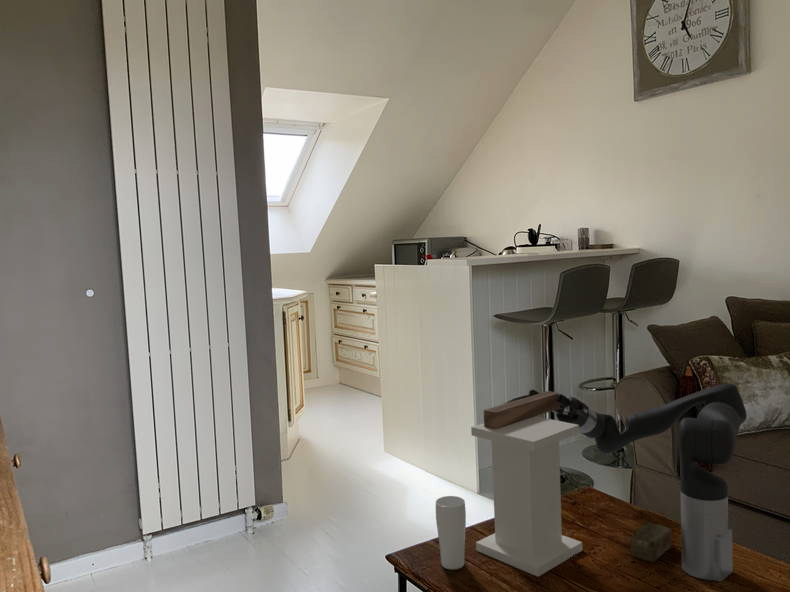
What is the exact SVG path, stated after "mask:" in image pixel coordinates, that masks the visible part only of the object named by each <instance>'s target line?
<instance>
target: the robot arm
mask: <svg viewBox="0 0 790 592" xmlns="http://www.w3.org/2000/svg"><path fill="white" fill-rule="evenodd" d="M540 393H541V392H538V391H537V390H535V389H533V388H531V389H530V390H529V392H528V395H527V397H529V396H533V395H536V394H540ZM556 402H557V403H559V404H560V408H559V409H556V410H553V411H551V413H554V414H555V416H556V418H557V421H562V422H567V423H571V424H576V425H579V434H580V433H581V434H582V435H584V436H585V437H587V438H591V439H594V441H595V444H596V448H597V449H598V451H600V452H602V453H604V454H612V453H615V452H617V451H620V450H621V449H623V448H625V447H626V446H628V445H630V444H632V443H634V442H636V441H638V440H640V439H644V438H647V437H653V436H656V435H660V434H663V433H665V432H666V431H668V430H669V429H671V428H672V427H673V425H675V424H676V423H677V421H678V420H679V419H680V418H681V417H682V416H684V414H685V413H686V412H687V411H689V410H690V409H692V408H693V407H695V406H697V405H700V404H703V405H704V406H703V407H702V408H701V409H700V411H699V412H698V414H697V417H683V418H682V419H681V420H680V422H679V424H678V425H679V426H678V429H677V430H678V432H677V440H678V443H677V444H678V456H679V474H680V476H679V477H680V479H679V480H680V481H679V483H680V534H681V535H680V539H681V540H680V542H681V543H680V544H681V547H680V549H681V568H682V570H683V571H684V572H685V573H687V574H688V575H689V576H692V577H694V578H698V579H701V580H706V581H717V582H719V583H722V582H723V581H724V580H725V579H726V578H728V576H730V575H731V574H732V573H733V570H734V569H733V568H734V567H733V563H734V562H733V529H732V528H729V488H728V487H729V486H728V483H727V481H726V480H725V479H724V478H722V477H721V476H719V475H716V474H715V473H713V472H710V471H708V470H706V468H703V466H701V465H700V464H701V463H704V464H714V465H726V464H728V463H730V462H731V461H732V460H733V459H732V458H733V457H734V455H735V452H736V451H735V450H736V449H735V448H736V437H737V436H738V433H739V431H740V428H741V425H742V424H744V422H745V421H746V420H747V411H746V407H745V405H744V402H743V398H742V397H741V395H740V392H739V389H738V387H737V385H735V384H732V383H725V384H724V383H723V384H717V385H714V386H711V387H707V388H705V389H704V388H703V389H702V390H699V391H696V392H694V393H693V392H692V393H691V394H687V395H686V396H683V397H680V398H678V399H675V400H673V401H670V402H668V403H665V404H663V405H660V406H659V405H658V406H657V407H654V408H650V409H646V410H642V411H637V412H634V413H630V414H628V415H627V416H626V417H625V429H624V430H623V431H622V432H620V429H619V426H618V423H617V421H616V419H615V418H614V416H613V415H610V414H604V413H598V412H596V411H595V410H594V409H592V408H591V407H590V406H589V405H588V404H586V403H584V402H583V401H582V400H580V399H579V398H577V397H574V396H565V395H563V393H559V394H558V396H557V400H556ZM699 463H700V464H699Z"/></svg>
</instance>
